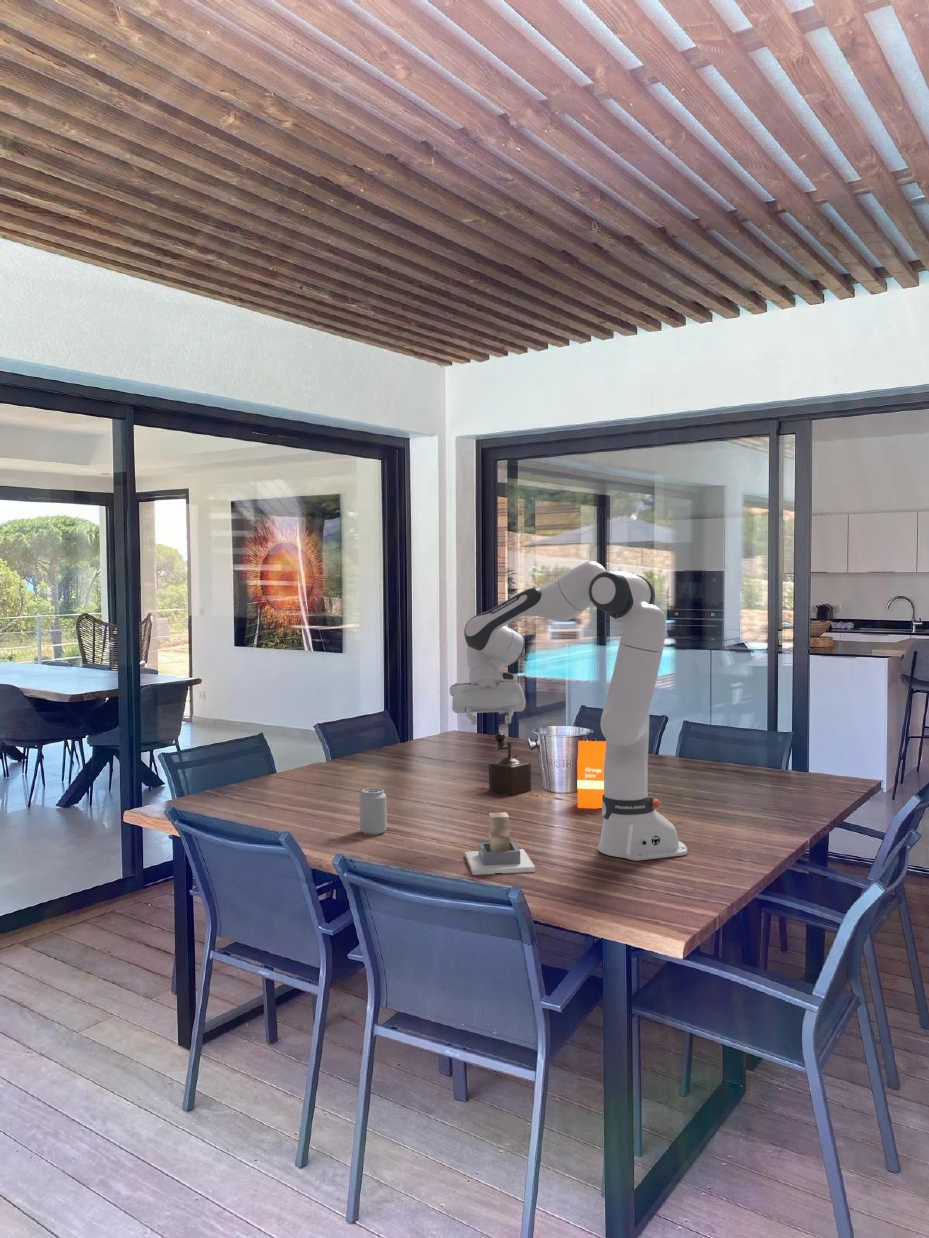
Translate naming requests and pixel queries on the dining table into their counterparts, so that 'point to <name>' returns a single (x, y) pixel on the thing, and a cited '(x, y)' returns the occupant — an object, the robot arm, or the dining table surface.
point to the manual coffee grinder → (509, 772)
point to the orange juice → (590, 773)
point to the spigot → (499, 832)
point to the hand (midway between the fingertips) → (491, 722)
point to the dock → (498, 860)
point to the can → (373, 811)
